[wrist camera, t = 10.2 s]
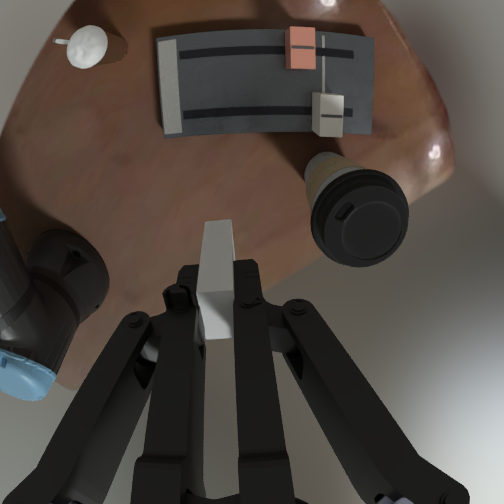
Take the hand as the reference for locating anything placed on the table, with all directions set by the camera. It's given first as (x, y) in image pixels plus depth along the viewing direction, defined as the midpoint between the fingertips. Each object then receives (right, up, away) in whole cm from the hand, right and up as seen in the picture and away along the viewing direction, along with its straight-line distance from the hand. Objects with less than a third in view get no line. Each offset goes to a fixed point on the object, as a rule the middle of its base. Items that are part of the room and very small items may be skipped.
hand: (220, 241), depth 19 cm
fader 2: (+10, +15, +14) cm, 23 cm away
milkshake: (-15, +23, +11) cm, 30 cm away
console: (+4, +19, +14) cm, 24 cm away
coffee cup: (+11, +9, +20) cm, 25 cm away
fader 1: (+7, +21, +10) cm, 24 cm away
